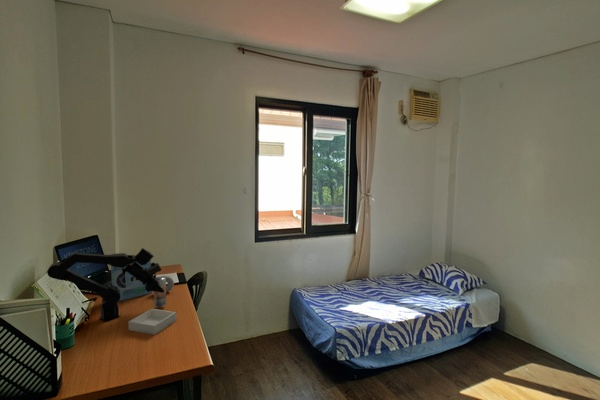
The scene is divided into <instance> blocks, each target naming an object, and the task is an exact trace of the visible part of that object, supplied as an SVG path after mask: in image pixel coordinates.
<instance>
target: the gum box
mask: <svg viewBox="0 0 600 400" xmlns="http://www.w3.org/2000/svg"><path fill="white" fill-rule="evenodd" d="M134 255H135V256H136V255H137V254H134ZM136 263H137V264H139V263H138V262H136ZM151 263H152V259H151V260H150V261H149V262H148V263H147V264H146V265H140V264H139V265H140V266H141V267H143V268H146V269H148V268H149V267H151ZM123 268H125V267H123ZM110 269H111V270H110V272H111V273H110V274H111V284H112V285H113V286H115V287H118V289H119V290H120V300H119V301H118V302H121V301H122V302H123V301H126V300H129V299H133V298H138V297H141V296H145V295H149V294H152V293H153V291H150V292H147V291H146V290H145V285H146V284H147V283H146V284H145V285H143V284H142V282H140V281H139V280H136V278H135V277H133V276H132V275H131V274H129V273H128V272H126V273H125V274H124V275H123V274H122V268H120V267H115V266H111V265H110Z"/></svg>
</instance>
